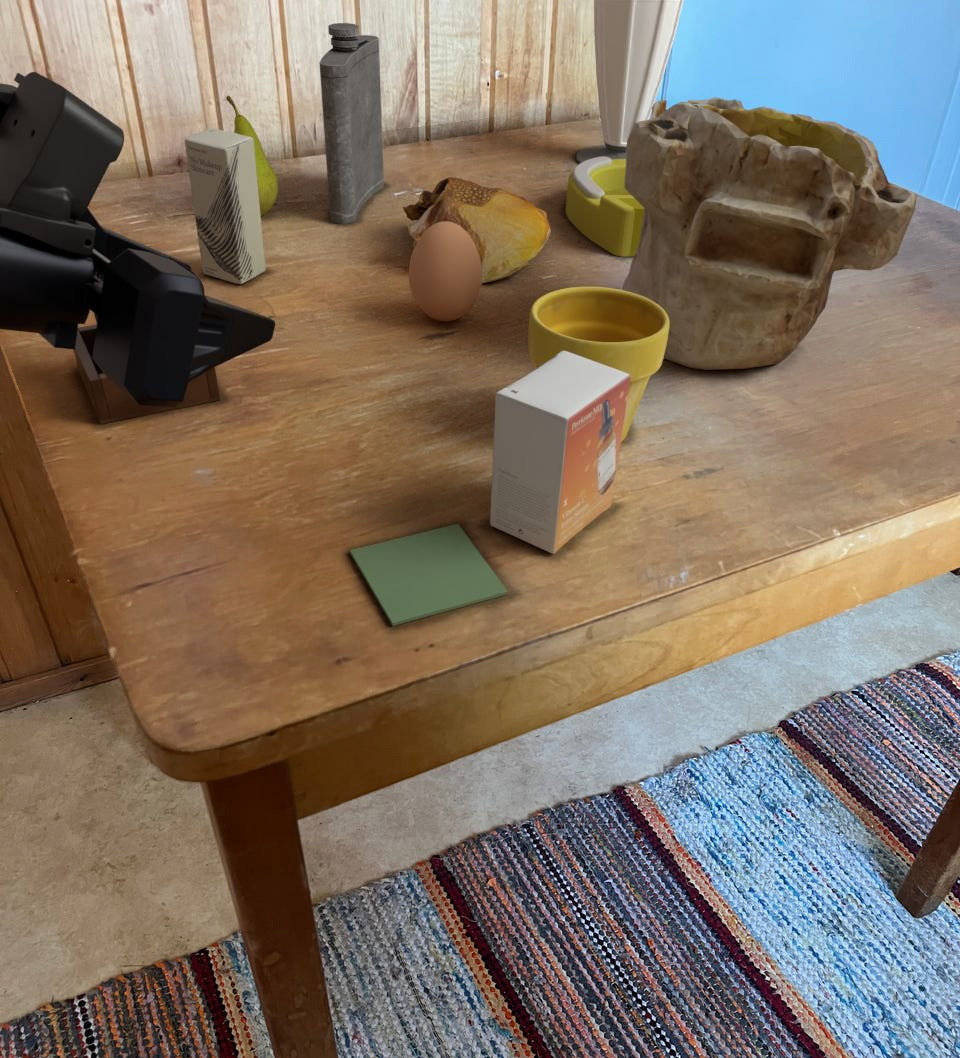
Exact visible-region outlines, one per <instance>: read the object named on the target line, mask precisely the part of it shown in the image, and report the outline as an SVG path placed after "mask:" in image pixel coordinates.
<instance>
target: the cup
mask: <svg viewBox="0 0 960 1058" xmlns="http://www.w3.org/2000/svg"><path fill="white" fill-rule="evenodd" d="M684 2H685V0H593V31H594V32H593V33H594V53H595V55H594V56H595V57H594V58H595V75H596V86H597V88H596V89H597V98H598V99H597V101H598V109H599V116H600V123H601V129H602V130H601V131H602V136H603V142H604V145H595V146H591V147H590V146H589V147H586V148H583V149H581V150H580V151H579V152H577V153H576V161H577V162H578V164H580V163H582V162H584V161H586V160H589V159H592V158H596V157H609V158H610V159H626V146H627V140H628V138H629V135H630V133H631V131H632V128H633V125H634V123H636V122H640V121H644V120H650V119H651V116H652V107H653V104H654V103H656V100H657V98H658V94H659V91H660V88H661V85H662V82H663V79H664V75H665V72H666V70H667V69H666V68H667V65H668V61H669V59H670V54H671V51H672V48H673V45H674V41H675V37H676V33H677V30H678V25H679V22H680V18H681V14H682V10H683V6H684Z"/></svg>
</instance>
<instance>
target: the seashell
mask: <svg viewBox="0 0 960 1058" xmlns="http://www.w3.org/2000/svg"><path fill="white" fill-rule="evenodd" d="M402 209H403V211H404V213H405V215H406V218H407V219H408V220H410V221H411V222H414V221H415V222H414V223H410V224H409V225H408V226H407V232H408V235H409V237H410V239H411V244H412V246H413V249H414V248H415V246H416V244H417V242H418V240H419V239H420V237H421V236H422V234H423V233H424V232H425V231H426V230H427V229H428V228H429V227H430V226H432V225H434V224H436V223H439V222H444V221H448V222H452V223H455V224H457V225H459V226H460V227H462V228H463V229H464V230H465V231H466V232H467V233H468V234H469V236H470V237H471V239H472V240H473V242H474V244H475V246H476V249H477V251H478V254H479V256H480V261H481V266H482V284H487V283H490V282H496V281H498V280H501V279H504V278H507V277H509V276H511V275H513V274H515V273H516V272H517V271H519V270H521V269H522V268H524V267H525V266H527V265H528V264H530V263H531V262H533V260H535V259H536V256H537V255H538V254H539V252H540V251H542V250H543V249H544V247H545V246H546V244H547V242H548V240H549V238H550V235H551V227H550V222H549V221H548V213H547V212H546V211H545V210H543V209H541V208H538V207H537V206H536V205H535V204H533V203H532V202H530V201H528V200H527V199H526V198H524V197H522V196H520V195H518V194H516V193H513V192H510V191H508V190H505V189H503V188H500V187H488V186H483V185H480V184H478V183H476V182H474V181H471V180H466V179H463V178H458V177H453V176H450V177H449V176H448V177H447V178H444V179H442V180H440V181H439V182H438V183H437V184H436V186H434V189H433V190H432V191H429V190H423V191H422V192H421V193H420V194H419V198H418V201H417V202H416V203H415V204H409V205H407V206H404V205H403V206H402Z"/></svg>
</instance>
